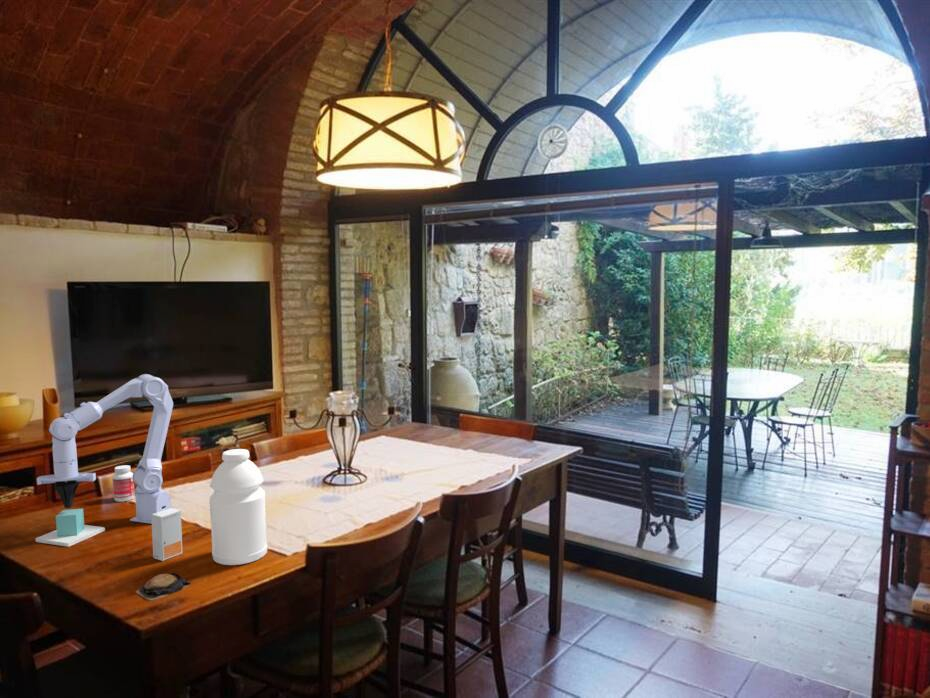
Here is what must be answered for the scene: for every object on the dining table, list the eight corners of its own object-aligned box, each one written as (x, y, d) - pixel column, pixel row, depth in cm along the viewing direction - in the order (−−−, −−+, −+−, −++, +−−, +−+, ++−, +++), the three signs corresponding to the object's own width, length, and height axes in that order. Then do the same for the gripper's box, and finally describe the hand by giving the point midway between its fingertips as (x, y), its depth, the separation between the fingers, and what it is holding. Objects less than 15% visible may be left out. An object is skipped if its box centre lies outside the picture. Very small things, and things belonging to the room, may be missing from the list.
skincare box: (162, 561, 168) (160, 517, 166) (152, 558, 170) (150, 514, 169) (183, 553, 173) (181, 510, 172) (174, 550, 175) (171, 507, 174)
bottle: (225, 544, 179) (220, 444, 176) (274, 544, 178) (270, 444, 175) (203, 566, 165) (197, 458, 162) (256, 566, 164) (252, 459, 161)
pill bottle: (135, 499, 216) (133, 467, 215) (115, 503, 213) (112, 470, 212) (133, 494, 221) (131, 463, 220) (113, 498, 218) (111, 466, 217)
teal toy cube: (84, 528, 188) (83, 508, 188) (77, 535, 183) (75, 514, 183) (64, 529, 187) (63, 509, 187) (57, 536, 182) (55, 516, 182)
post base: (104, 530, 189) (103, 512, 189) (68, 546, 178) (67, 527, 177) (73, 526, 193) (71, 508, 192) (35, 541, 181) (34, 522, 181)
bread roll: (150, 605, 146) (149, 589, 146) (133, 593, 152) (132, 578, 151) (195, 587, 155) (194, 572, 154) (177, 577, 160) (176, 563, 160)
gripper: (98, 455, 188) (101, 500, 190) (43, 458, 186) (46, 503, 187) (89, 461, 181) (92, 508, 183) (32, 464, 179) (35, 512, 180)
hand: (68, 506), depth 184 cm, fingers closed
